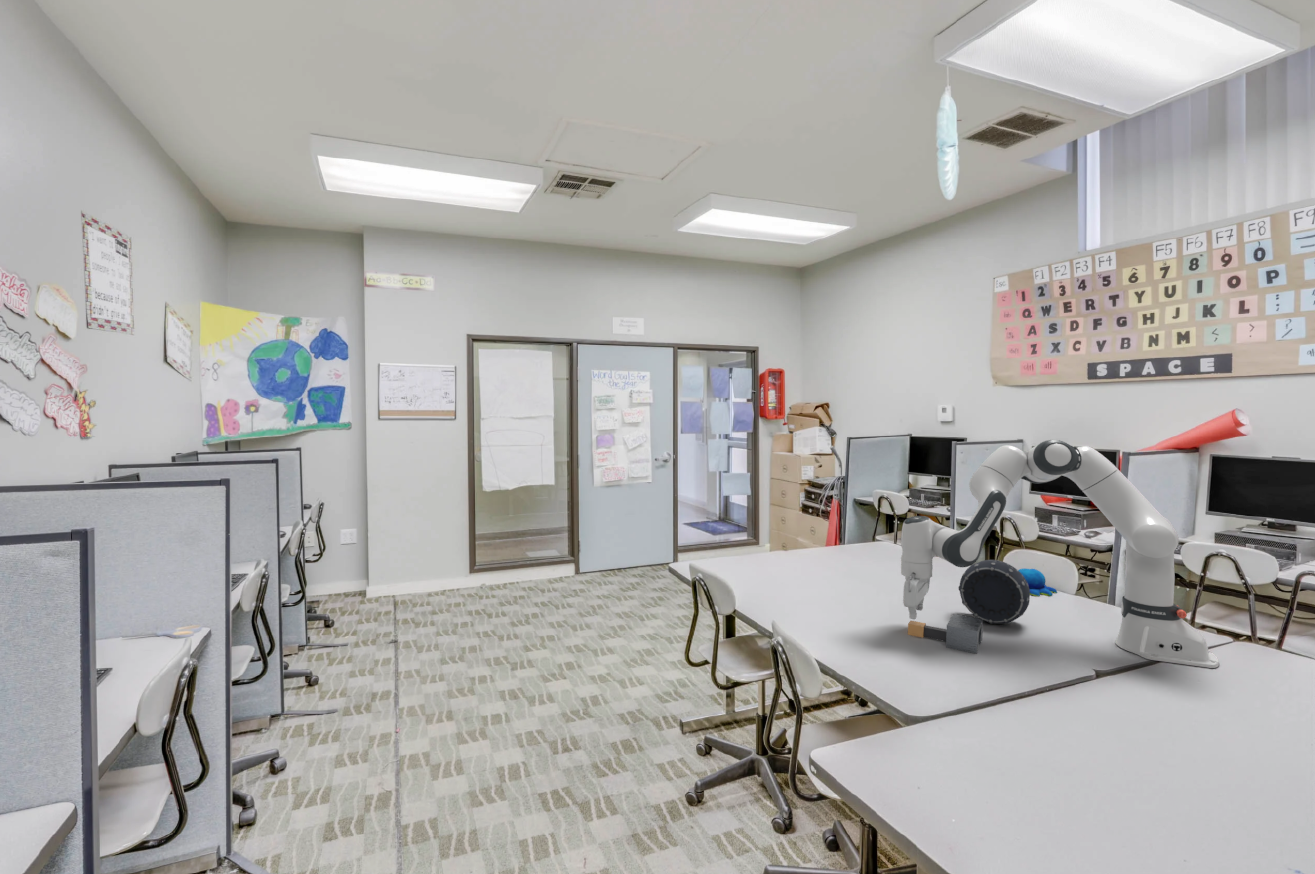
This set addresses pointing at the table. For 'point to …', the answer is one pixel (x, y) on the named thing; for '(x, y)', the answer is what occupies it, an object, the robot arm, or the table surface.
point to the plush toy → (1036, 582)
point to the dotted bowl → (994, 591)
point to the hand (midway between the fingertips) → (916, 614)
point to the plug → (926, 631)
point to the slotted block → (964, 633)
